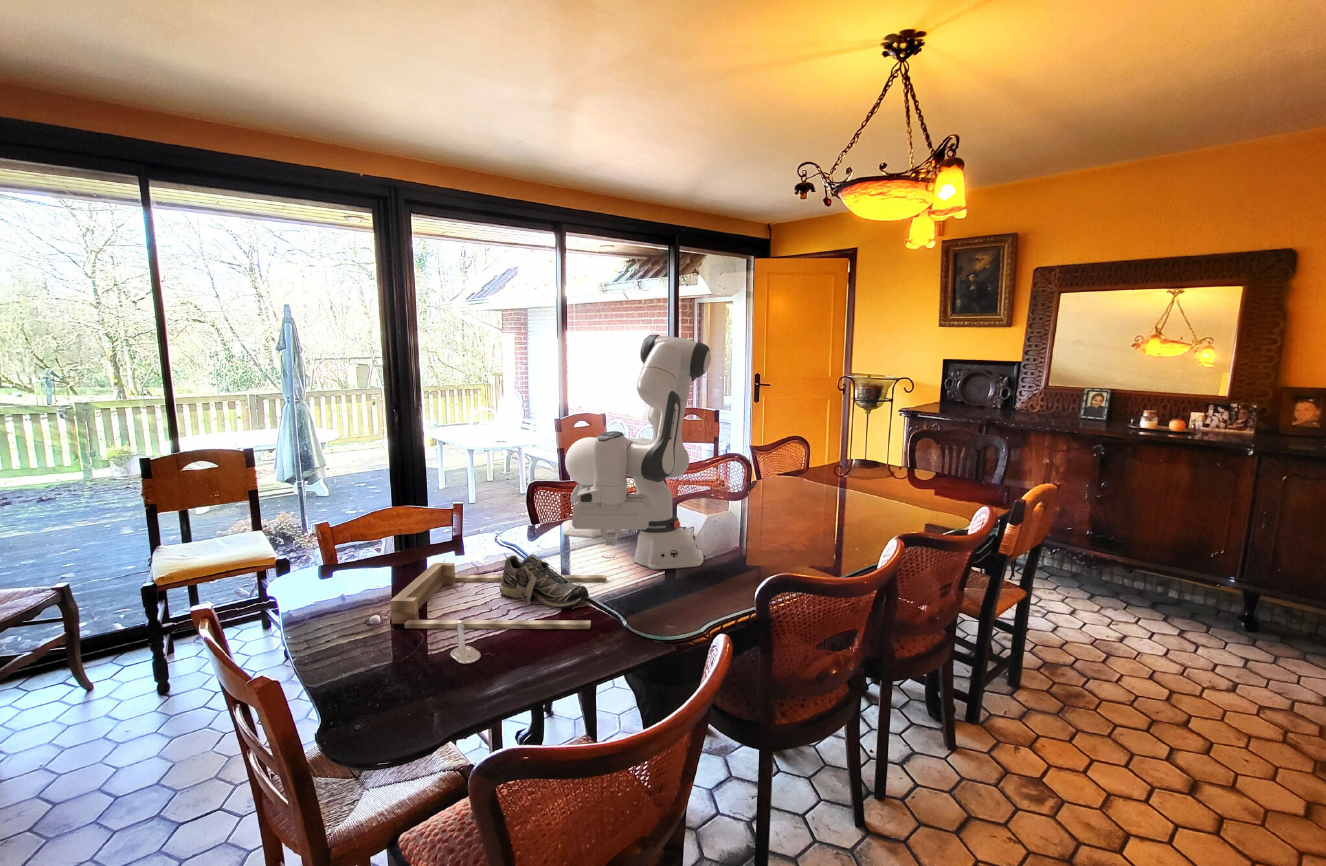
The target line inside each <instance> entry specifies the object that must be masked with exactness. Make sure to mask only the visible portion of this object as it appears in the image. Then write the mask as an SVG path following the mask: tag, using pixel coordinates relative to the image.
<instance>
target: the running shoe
mask: <svg viewBox="0 0 1326 866" xmlns="http://www.w3.org/2000/svg"><path fill="white" fill-rule="evenodd" d="M502 572H503V573H502V575H503V576H502V579H501V584H500V585H499V592H500V593H501V595H502V597H503V598H504V599H511V600H512V599H513V600H522V601H523V602H524V603H527V604H531V600H535V601H537V602H538V603H540V604H542V605H543V606H545V607H548V608H553V609H558V610H559V609H561V610H563V609H564V610H567V609H571V608H572V607H573V606H575V605H577V604H579V603H581V602H583V601H585V600H586V599H587V598H588V597H590V595H589V590H588V588H587V587H586V586H585V585H581V584H579V582H575V581H574V582H573V583H572V582H570V581H568V580H567V579H565V578H563V577H562V576H561V575H564V576H565V575H566V574H563V573H561V572H560V571H557V569H556V568H554V567H553V566H552V565H551V564H549V562H547V561H543V560H542V559H541V558H539V557H538V556H537V555H536V554H533V553H532V554H530V555H528V556H526V557H525V558H524V559H523V560H522V562H521V561H520V560H519V558H518V556H517V555H510V556H508V557H507V558H506V559H505V561H504V566H503V571H502ZM560 574H561V575H560ZM565 577H566V576H565ZM567 578H568V577H567ZM569 579H570V578H569ZM572 581H573V580H572Z"/></svg>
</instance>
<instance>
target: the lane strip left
mask: <svg viewBox="0 0 1326 866" xmlns="http://www.w3.org/2000/svg"><path fill="white" fill-rule="evenodd" d="M458 621H462V622H463V625H464V629H466V630H467V629H474V630H475V629H476V630H477V629H479V630H481V629H484V630H485V629H495V630H497V629H498V630H500V629H503V630H505V629H506V630H507V629H508V630H511V629H512V630H515V629H517V630H521V629H524V630H525V629H526V630H527V629H529V630H530V629H532V630H534V629H536V630H542V629H544V630H590V629H591V627H592V621H591V620H572V619H571V620H569V619H568V620H559V619H558V620H557V619H556V620H553V619H550V620H549V619H547V620H543V619H542V620H539V619H538V620H533V619H532V620H531V619H530V620H529V619H527V620H526V619H525V620H524V619H523V620H522V619H521V620H520V619H519V620H517V619H516V620H515V619H510V620H509V619H506V620H505V619H502V620H501V619H498V620H495V619H494V620H493V619H492V620H491V619H485V620H484V619H473V620H472V619H419V620H408V621H407V622H406V623H403V625H404V629H457V622H458Z"/></svg>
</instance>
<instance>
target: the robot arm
mask: <svg viewBox="0 0 1326 866" xmlns="http://www.w3.org/2000/svg"><path fill="white" fill-rule="evenodd" d="M711 356H712V355H711V349H710V347H709V346H708V345H707V344H705V343H703V342H701V341H694V340H690V339H688V338H684V337H676V336H667V335H660V334H649V335H647V336H646V337H645V338H644V340H643V341H642V345H641V346H640V360H641V362H642V364H643V365H642V367H641V371H640V373H639V376H638V379H637V383H636V390H637V393H638V396H639V397H640V399H641V400H642V401H643V402H644V403H645V404H647V405H648V406H649V411H648V414H647V420H648V422H649V423H650V425H651V427H652V429H653V436H652V438H651V439H650V438H643V437H642V438H633V439H628V438H627V437H626V435H625V434H624V432H621V431H617V430H615V431H613V430H612V431H605V432H602V433H600V434H599V435H597V436H596V437H595V438H596V440H595V444H594V453H593V467H594V471H595V478H594V486H593V487H589V488H586V489H583V490H581V491H580V492H578V494H577V496H576V501H577V503H575V504H574V506H573V509H572V516H571V517H572V518H571V520H572V526H573V527H574V528H575V529H601V534H602V535H601V536H602V538H603V539H604V545H605V546H617V541H618V537H619V536H620V533H621V531H622V530H636V534H637V542H636V549H635V554H634V557H633V560H634V562H636V564H638V565H642V566H645V567H648V568H649V569H651V570H665V569H666V570H667V569H678V568H679V569H682V568H692V567H699V566H701V565H702V564H703V563H704V559H705V558H704V554H703V551H701V550H700V549H699V548H697V543H696V541H695V538H694V537H693V536H692V535H691V534H690V533H688V532H686V531H685V530H684V529H682V528H680V527H681V522H680V519H679V517H678V515H676V516H675V515H673V493H672V490H671V489H670V488H669V486H668V485H667V484H666V482H665V480H666V479H669V478H679V477H682V476H683V475H684V474H685V473H686V472H687V470H688V469H689V465H690V456H689V453H688V451H687V449H686V447H685V446H684V442H683V437H682V426H683V421H684V416H685V412H686V408H687V404H688V399H689V396H690V389H691V382H694V381H696V379H698V378H701V377H702V376H703V375H705V374H706V372H707V371H708V369H709V367H710V365H711V360H712V357H711ZM627 477H631V478H632V479H633V480H632V481H633V483H634V486H635V489H636V494H635V493H628V479H627ZM607 529H615V532H614V533H615V535H614V536H608V533H607V534H606V531H607Z"/></svg>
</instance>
